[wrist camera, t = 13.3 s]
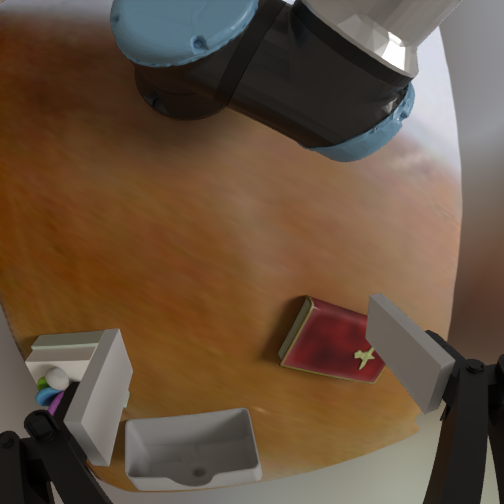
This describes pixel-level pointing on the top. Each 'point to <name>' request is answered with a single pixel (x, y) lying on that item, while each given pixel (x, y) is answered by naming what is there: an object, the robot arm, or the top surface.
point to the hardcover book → (331, 344)
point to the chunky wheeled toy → (52, 388)
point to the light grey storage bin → (192, 451)
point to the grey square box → (64, 354)
